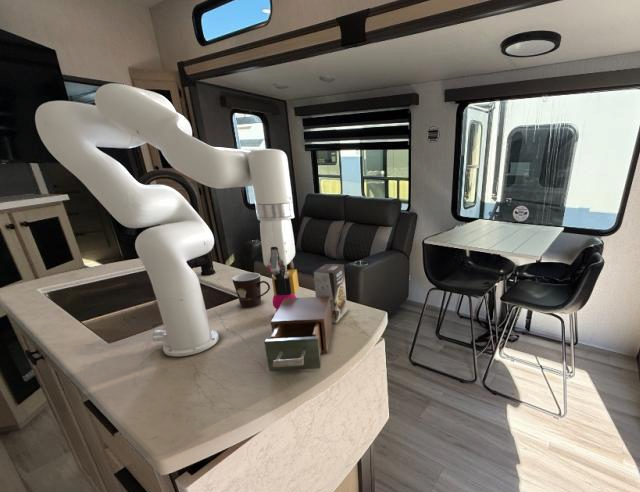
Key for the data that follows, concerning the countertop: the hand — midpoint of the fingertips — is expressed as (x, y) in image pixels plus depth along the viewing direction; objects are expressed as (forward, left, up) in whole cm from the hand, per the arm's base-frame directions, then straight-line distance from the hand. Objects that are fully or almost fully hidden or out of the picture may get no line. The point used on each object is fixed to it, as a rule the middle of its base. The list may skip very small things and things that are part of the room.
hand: (286, 289), depth 74 cm
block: (0, 0, 0) cm, 0 cm away
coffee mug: (-20, +33, -18) cm, 42 cm away
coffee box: (+8, +21, -18) cm, 28 cm away
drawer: (+2, -4, -17) cm, 17 cm away
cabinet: (+2, +7, -17) cm, 19 cm away
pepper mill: (-7, +24, -18) cm, 31 cm away
